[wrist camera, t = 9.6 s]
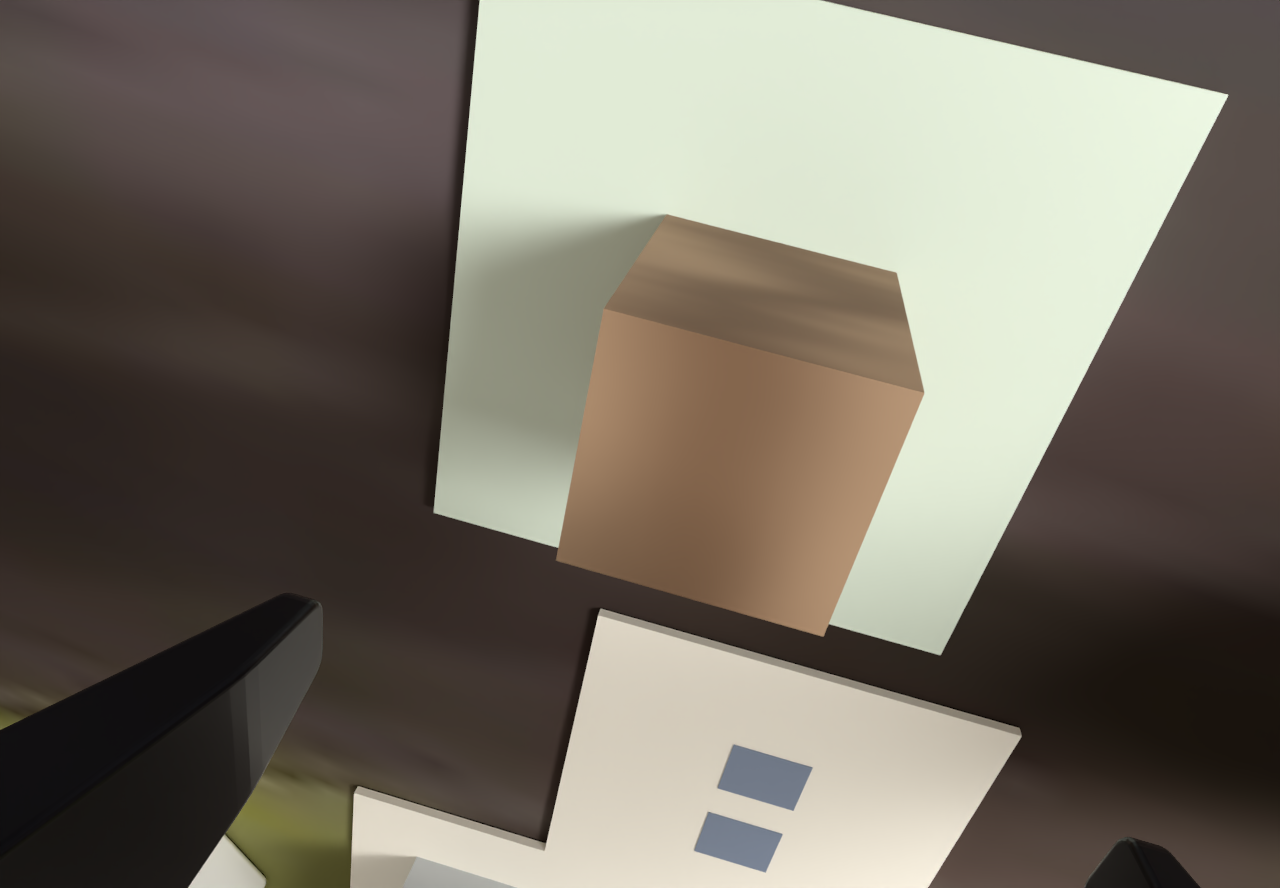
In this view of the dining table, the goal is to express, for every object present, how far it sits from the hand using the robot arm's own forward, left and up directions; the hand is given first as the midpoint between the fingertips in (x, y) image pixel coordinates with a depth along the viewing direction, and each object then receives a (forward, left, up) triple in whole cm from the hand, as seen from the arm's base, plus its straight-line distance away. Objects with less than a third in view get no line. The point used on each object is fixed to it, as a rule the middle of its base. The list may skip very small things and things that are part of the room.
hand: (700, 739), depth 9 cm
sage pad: (0, 0, -12) cm, 12 cm away
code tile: (-4, +15, -12) cm, 20 cm away
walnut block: (0, 0, -12) cm, 12 cm away
